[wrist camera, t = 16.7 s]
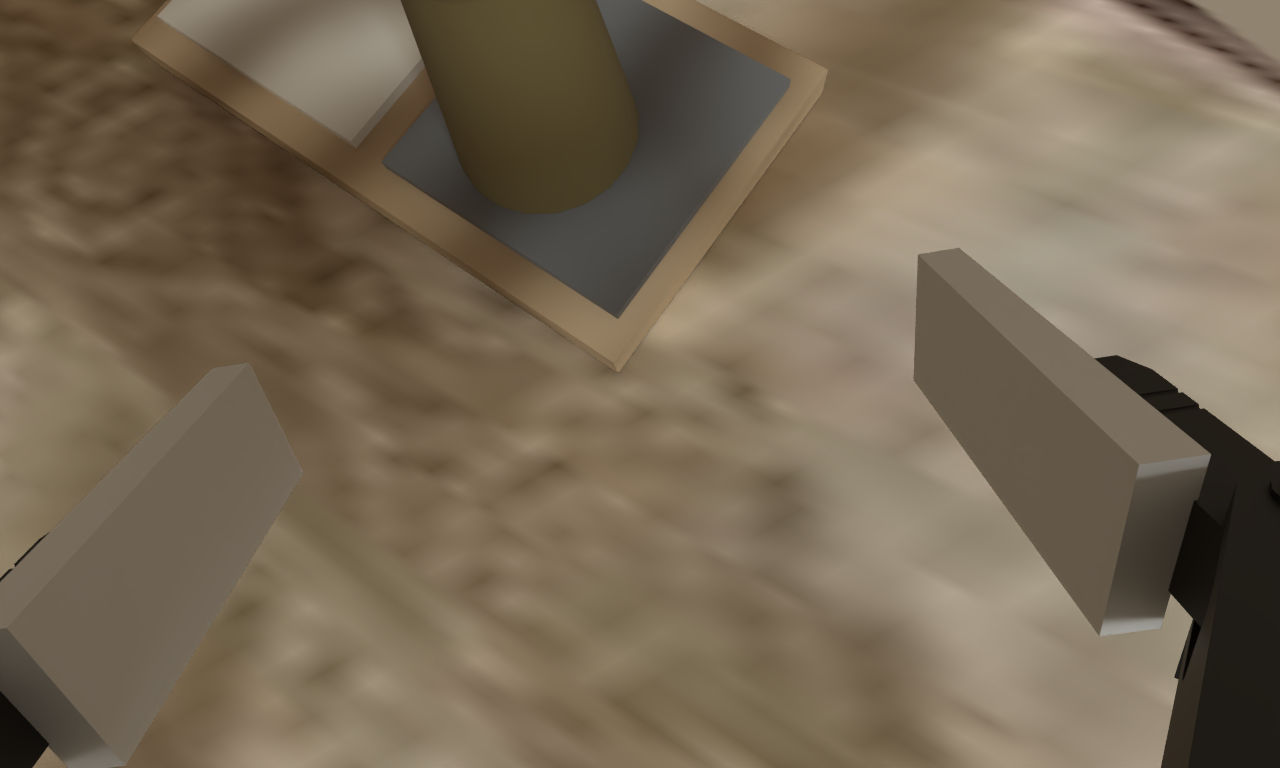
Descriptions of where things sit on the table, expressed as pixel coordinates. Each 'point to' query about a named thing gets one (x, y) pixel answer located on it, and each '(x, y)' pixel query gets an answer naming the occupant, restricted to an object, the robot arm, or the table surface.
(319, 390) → the table surface
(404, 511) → the table surface
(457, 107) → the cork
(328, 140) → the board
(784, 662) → the table surface
